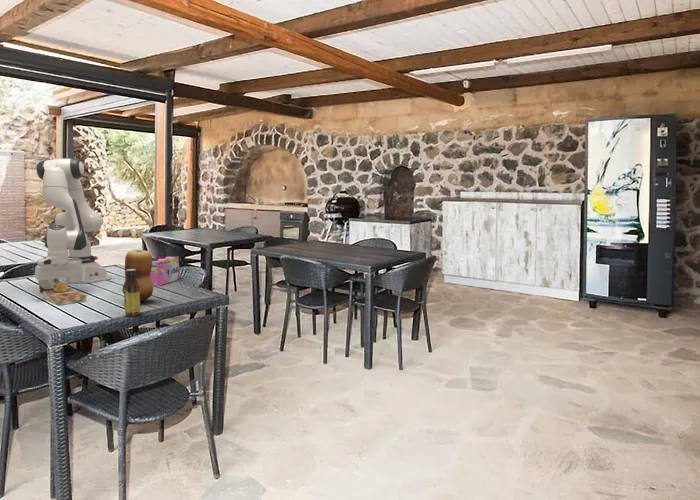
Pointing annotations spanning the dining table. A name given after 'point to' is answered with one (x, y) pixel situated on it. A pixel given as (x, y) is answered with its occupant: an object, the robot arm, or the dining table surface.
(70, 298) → the rail
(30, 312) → the dining table surface
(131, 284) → the sauce bottle
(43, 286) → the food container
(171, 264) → the gum box
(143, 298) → the butternut squash
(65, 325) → the dining table surface
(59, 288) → the brass peg
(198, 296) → the dining table surface
